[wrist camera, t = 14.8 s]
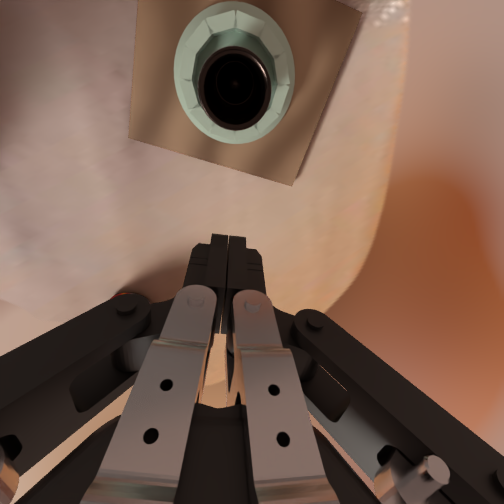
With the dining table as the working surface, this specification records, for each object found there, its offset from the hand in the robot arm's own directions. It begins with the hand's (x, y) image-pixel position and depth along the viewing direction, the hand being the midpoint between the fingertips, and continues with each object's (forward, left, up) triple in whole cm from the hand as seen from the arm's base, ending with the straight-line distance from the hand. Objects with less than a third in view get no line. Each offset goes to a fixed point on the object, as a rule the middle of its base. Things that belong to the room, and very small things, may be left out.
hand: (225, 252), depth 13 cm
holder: (-1, +6, -20) cm, 21 cm away
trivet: (-1, +6, -21) cm, 22 cm away
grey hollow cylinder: (-1, +6, -20) cm, 20 cm away
